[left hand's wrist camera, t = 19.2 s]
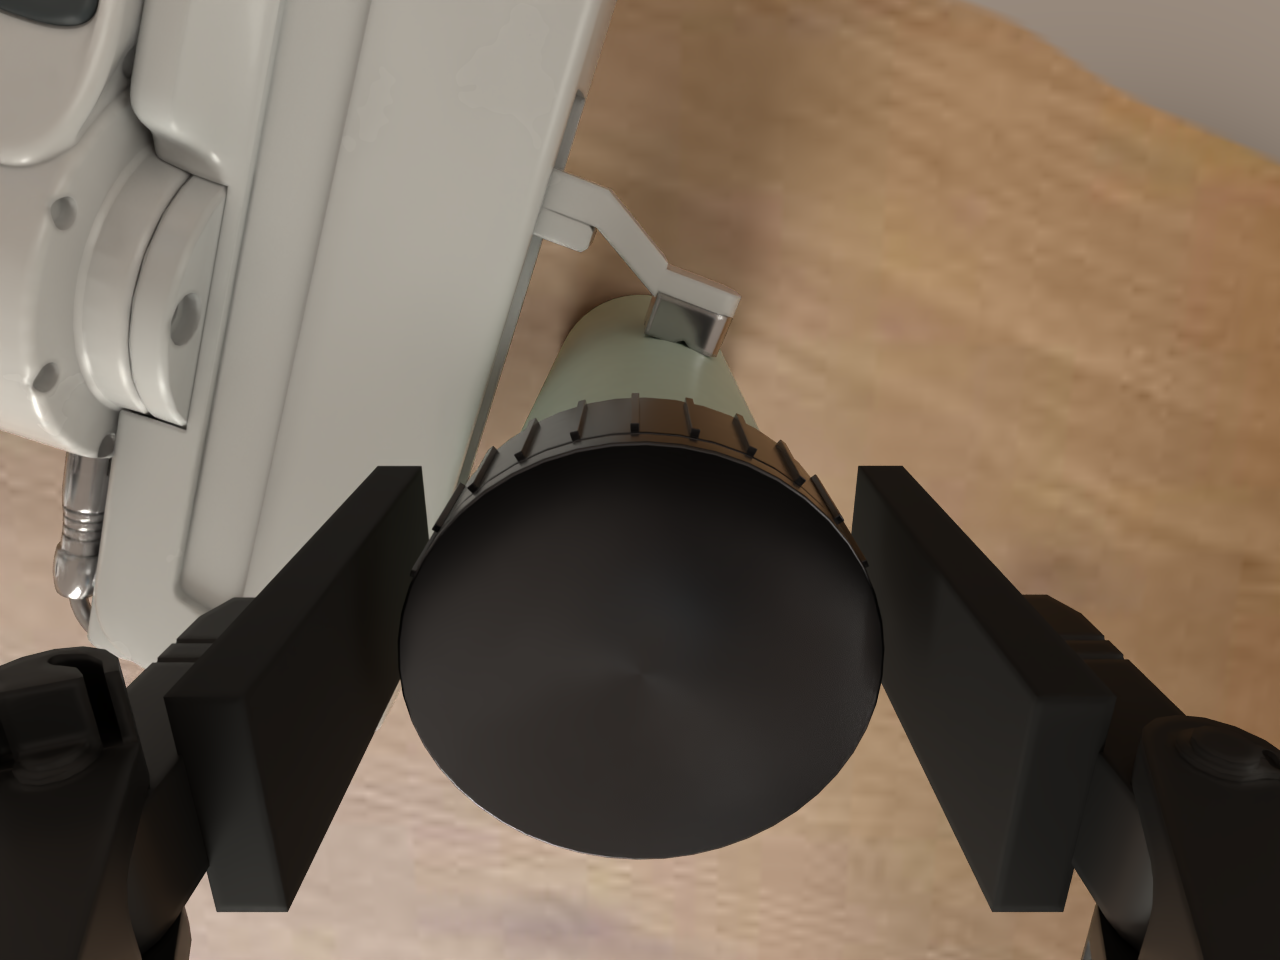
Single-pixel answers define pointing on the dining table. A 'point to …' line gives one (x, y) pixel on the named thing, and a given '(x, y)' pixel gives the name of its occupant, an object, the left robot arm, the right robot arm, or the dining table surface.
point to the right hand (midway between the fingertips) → (675, 452)
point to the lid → (640, 632)
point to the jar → (633, 366)
